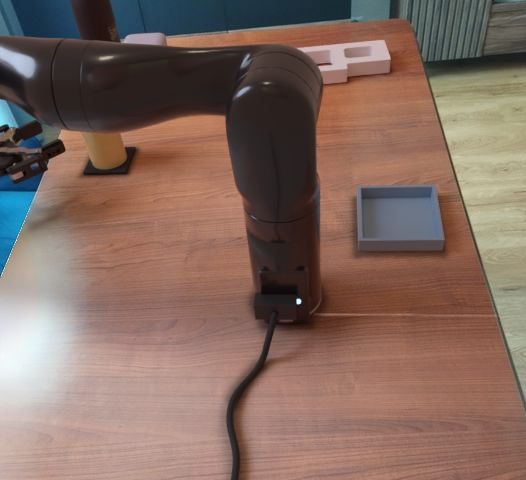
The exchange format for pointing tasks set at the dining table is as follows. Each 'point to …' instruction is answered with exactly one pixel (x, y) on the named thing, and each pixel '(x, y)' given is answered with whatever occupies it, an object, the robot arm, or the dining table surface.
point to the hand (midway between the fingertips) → (51, 134)
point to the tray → (399, 218)
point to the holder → (350, 59)
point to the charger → (147, 39)
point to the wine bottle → (95, 20)
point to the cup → (105, 149)
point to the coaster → (118, 170)
